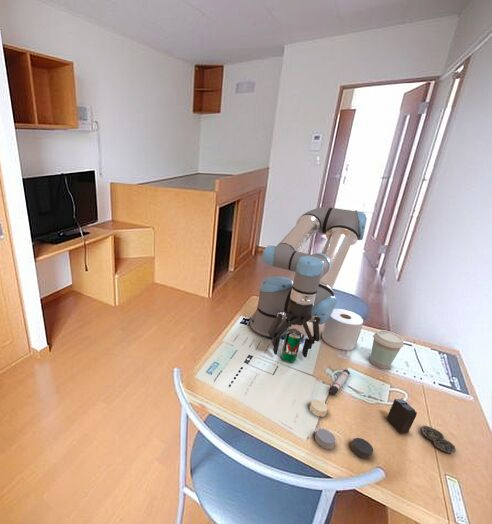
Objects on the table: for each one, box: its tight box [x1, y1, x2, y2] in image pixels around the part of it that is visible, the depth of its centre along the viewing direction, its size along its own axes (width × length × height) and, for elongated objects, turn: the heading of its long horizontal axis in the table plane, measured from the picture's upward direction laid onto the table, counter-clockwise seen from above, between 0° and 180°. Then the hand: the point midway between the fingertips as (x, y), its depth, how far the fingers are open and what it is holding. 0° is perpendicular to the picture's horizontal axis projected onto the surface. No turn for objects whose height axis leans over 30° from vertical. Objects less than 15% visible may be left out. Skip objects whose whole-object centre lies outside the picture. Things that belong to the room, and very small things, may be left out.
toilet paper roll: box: [321, 308, 364, 351], centre depth 121 cm, size 12×12×12 cm
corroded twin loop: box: [421, 425, 456, 454], centre depth 82 cm, size 5×8×1 cm, turn 3°
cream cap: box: [309, 399, 329, 418], centre depth 91 cm, size 4×4×2 cm
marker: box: [329, 369, 351, 396], centre depth 101 cm, size 15×2×2 cm, turn 132°
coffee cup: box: [369, 329, 404, 370], centre depth 109 cm, size 8×8×12 cm
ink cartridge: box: [386, 398, 418, 434], centre depth 85 cm, size 5×2×8 cm, turn 2°
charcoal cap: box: [350, 437, 374, 460], centre depth 79 cm, size 4×4×2 cm
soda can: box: [280, 328, 303, 364], centre depth 111 cm, size 5×5×12 cm
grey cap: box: [314, 428, 336, 450], centre depth 82 cm, size 4×4×2 cm
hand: (289, 353), depth 112 cm, fingers open, 10 cm apart
